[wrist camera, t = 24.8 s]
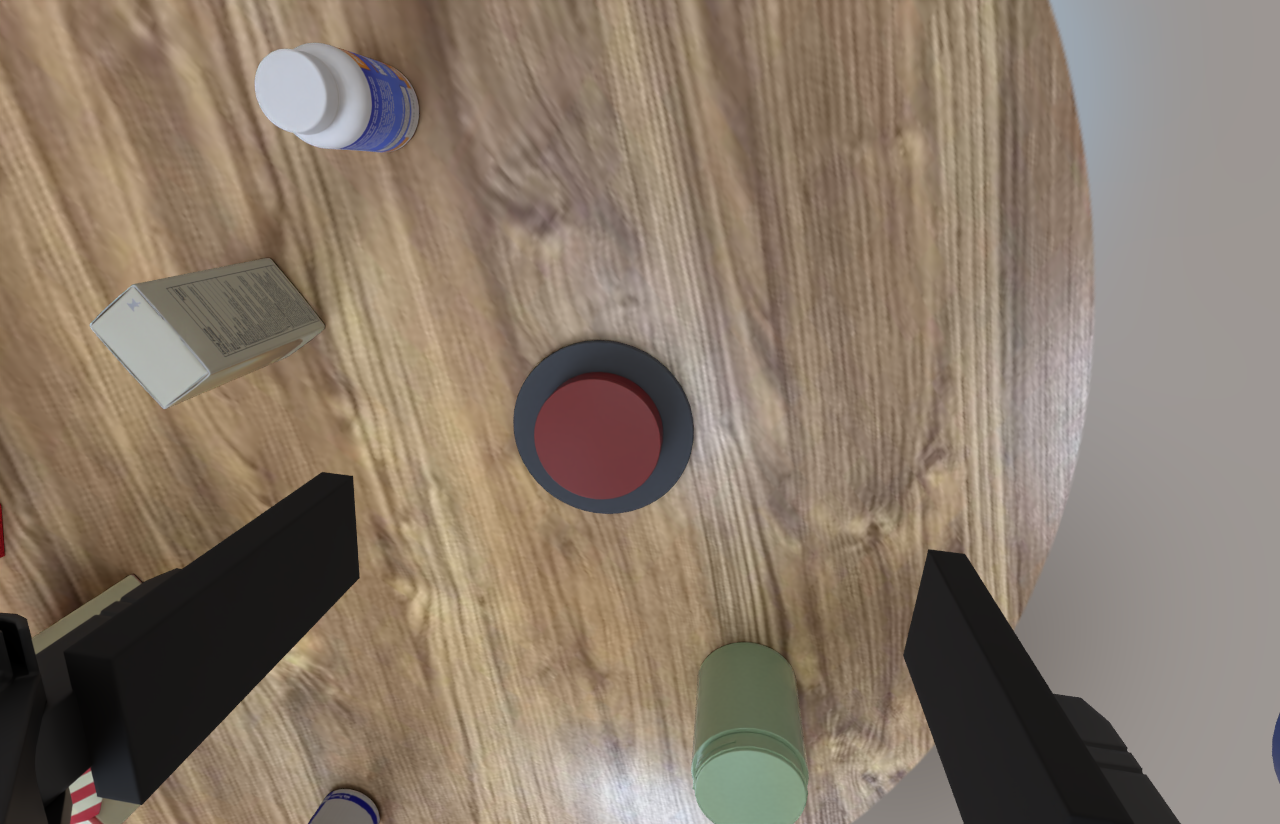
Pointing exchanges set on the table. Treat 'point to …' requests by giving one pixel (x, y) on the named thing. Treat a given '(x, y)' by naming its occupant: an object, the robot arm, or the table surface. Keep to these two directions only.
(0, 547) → the food packaging
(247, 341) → the cosmetic box
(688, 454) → the coaster
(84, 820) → the gift box
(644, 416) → the lid
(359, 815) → the beverage can
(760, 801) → the jar
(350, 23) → the table surface
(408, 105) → the pill bottle
